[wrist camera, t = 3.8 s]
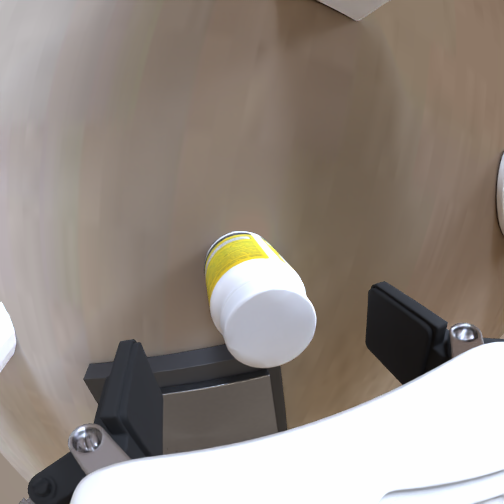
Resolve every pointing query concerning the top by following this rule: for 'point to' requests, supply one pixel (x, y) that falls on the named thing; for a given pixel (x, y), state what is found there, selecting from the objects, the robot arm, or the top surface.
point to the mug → (6, 337)
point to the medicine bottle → (354, 7)
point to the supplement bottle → (257, 301)
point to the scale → (194, 373)
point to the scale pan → (218, 412)
